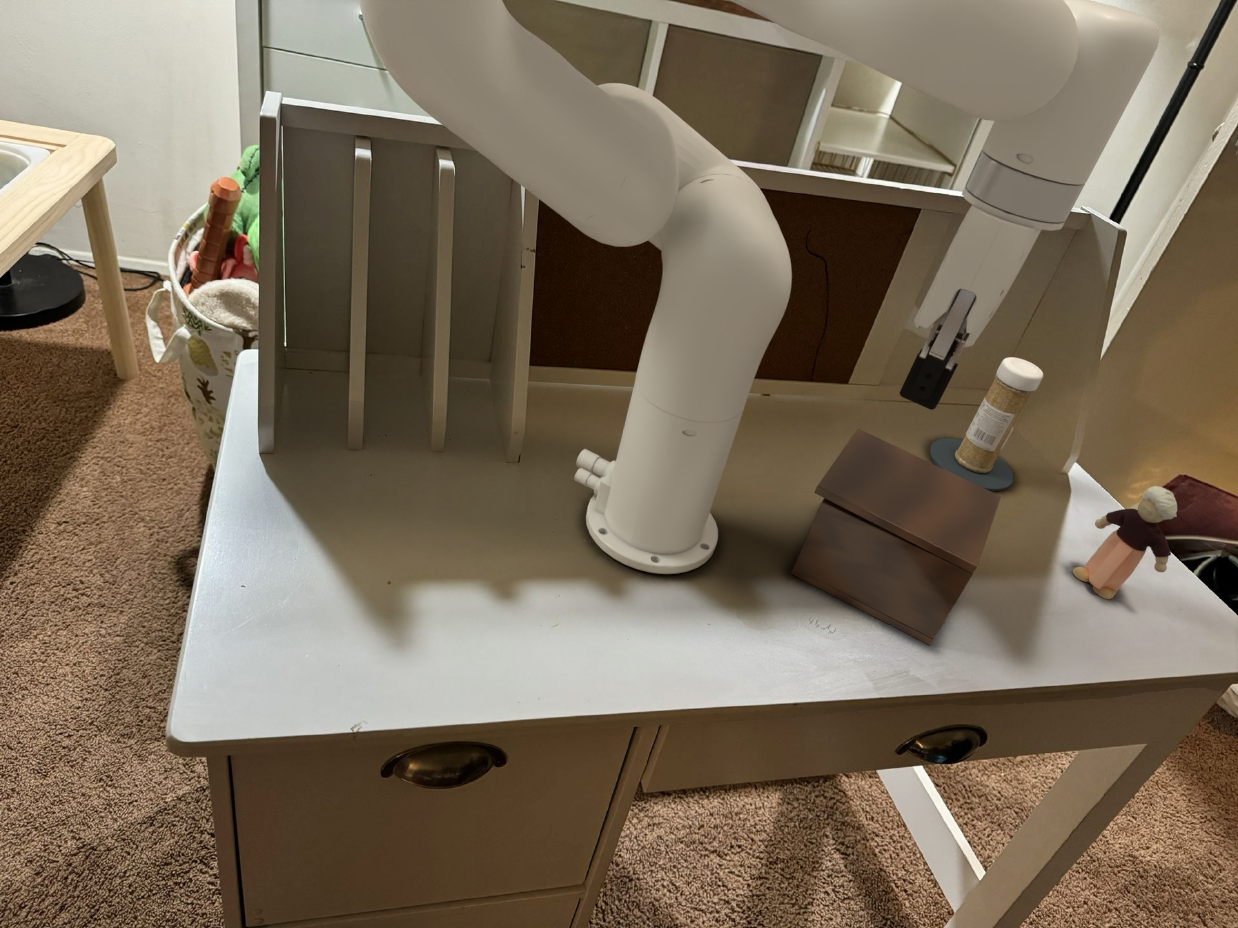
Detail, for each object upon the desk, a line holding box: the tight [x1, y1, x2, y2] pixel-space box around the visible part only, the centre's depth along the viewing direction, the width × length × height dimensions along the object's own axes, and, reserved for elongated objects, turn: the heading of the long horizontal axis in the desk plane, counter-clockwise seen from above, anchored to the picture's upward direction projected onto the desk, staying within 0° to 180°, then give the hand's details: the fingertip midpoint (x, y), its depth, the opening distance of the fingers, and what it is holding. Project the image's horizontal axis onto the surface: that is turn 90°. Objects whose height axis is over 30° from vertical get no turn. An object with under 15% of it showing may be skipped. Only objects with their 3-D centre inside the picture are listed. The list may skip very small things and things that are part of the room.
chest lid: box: [814, 428, 1002, 574], centre depth 78 cm, size 14×13×1 cm
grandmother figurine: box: [1071, 485, 1178, 600], centre depth 85 cm, size 8×4×13 cm, turn 40°
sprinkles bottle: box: [955, 356, 1044, 473], centre depth 99 cm, size 5×5×14 cm
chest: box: [791, 498, 974, 646], centre depth 81 cm, size 14×13×9 cm
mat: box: [928, 437, 1014, 492], centre depth 104 cm, size 10×10×1 cm
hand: (918, 399), depth 74 cm, fingers closed
